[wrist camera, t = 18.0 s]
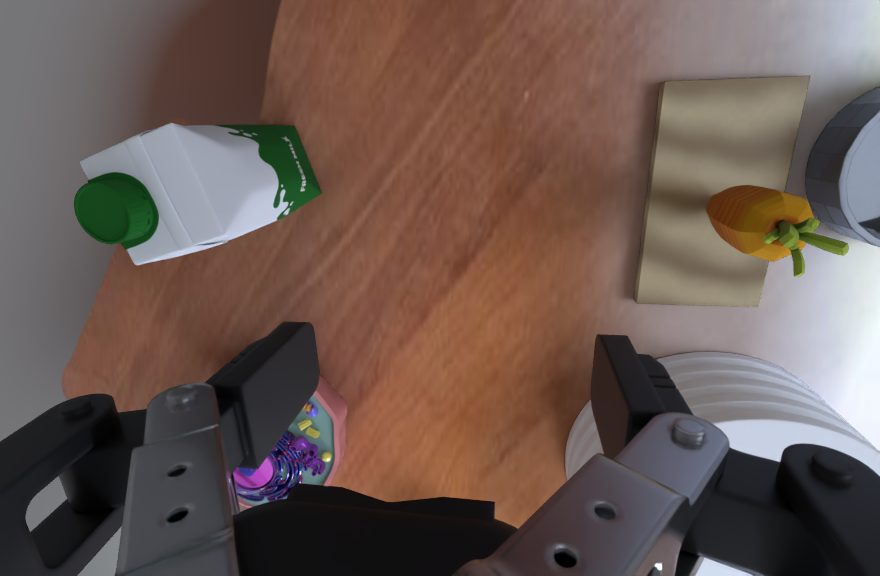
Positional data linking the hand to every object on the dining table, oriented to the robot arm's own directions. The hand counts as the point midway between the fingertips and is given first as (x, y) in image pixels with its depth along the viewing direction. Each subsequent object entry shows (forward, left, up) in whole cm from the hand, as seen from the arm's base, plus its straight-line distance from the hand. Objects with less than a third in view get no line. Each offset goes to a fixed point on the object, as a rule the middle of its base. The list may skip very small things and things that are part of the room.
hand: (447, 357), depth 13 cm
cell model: (+26, -24, -34) cm, 49 cm away
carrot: (+1, +19, -33) cm, 38 cm away
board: (+1, +20, -34) cm, 39 cm away
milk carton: (-2, -22, -34) cm, 41 cm away
